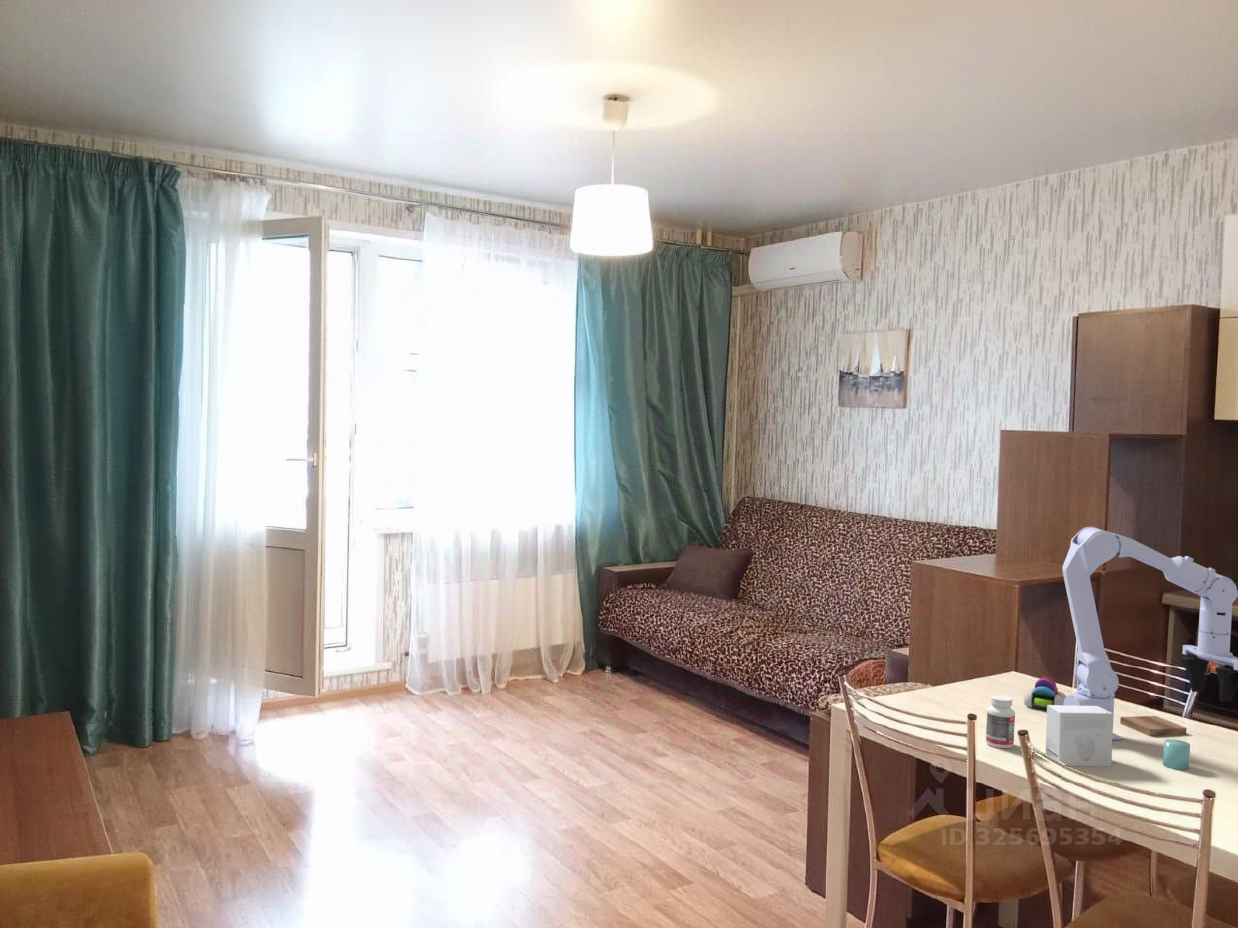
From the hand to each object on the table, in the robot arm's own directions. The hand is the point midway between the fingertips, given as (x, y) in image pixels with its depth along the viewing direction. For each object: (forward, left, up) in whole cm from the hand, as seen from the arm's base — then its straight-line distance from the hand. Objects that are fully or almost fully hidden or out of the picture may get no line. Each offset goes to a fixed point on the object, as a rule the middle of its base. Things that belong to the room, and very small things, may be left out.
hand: (1210, 696), depth 206 cm
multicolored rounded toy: (-18, +29, -11) cm, 36 cm away
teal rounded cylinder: (-18, -12, -10) cm, 24 cm away
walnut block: (-5, +10, -11) cm, 16 cm away
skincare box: (-35, -6, -11) cm, 37 cm away
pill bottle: (-45, +5, -11) cm, 47 cm away
